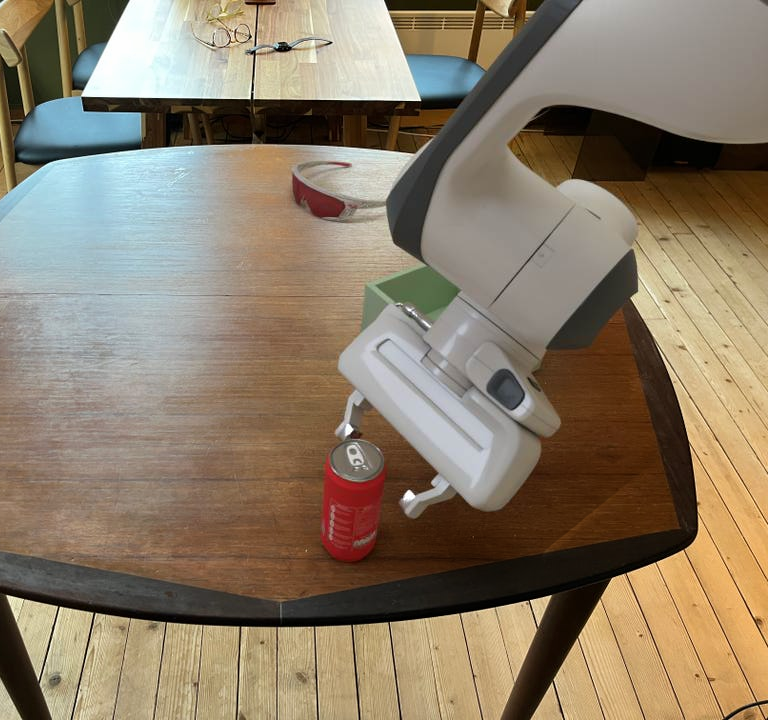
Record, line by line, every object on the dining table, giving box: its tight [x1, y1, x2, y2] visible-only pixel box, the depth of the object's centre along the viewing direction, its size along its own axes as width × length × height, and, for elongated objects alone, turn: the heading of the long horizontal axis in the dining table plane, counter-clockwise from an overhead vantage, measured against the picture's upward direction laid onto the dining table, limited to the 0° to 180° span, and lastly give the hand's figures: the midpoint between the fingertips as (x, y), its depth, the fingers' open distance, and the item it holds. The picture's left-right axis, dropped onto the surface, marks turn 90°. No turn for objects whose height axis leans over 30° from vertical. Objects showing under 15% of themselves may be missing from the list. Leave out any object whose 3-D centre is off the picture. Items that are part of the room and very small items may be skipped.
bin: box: [360, 262, 544, 373], centre depth 88 cm, size 16×16×9 cm
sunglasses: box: [291, 160, 386, 221], centre depth 119 cm, size 17×17×5 cm
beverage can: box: [320, 438, 387, 563], centre depth 66 cm, size 5×5×12 cm
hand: (372, 474), depth 65 cm, fingers open, 8 cm apart
